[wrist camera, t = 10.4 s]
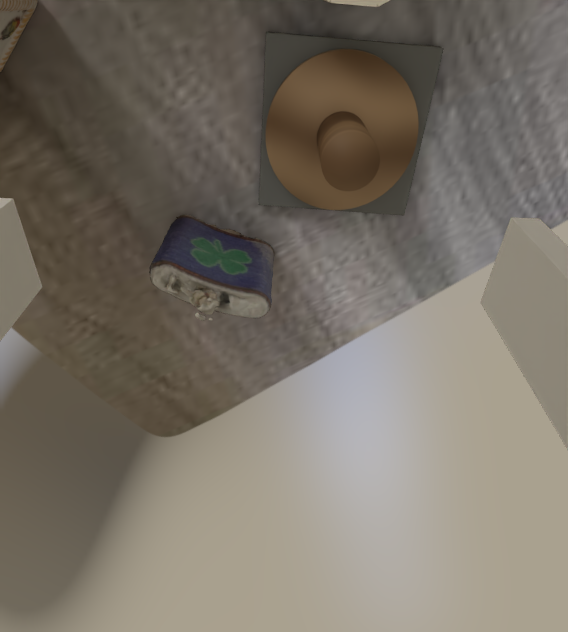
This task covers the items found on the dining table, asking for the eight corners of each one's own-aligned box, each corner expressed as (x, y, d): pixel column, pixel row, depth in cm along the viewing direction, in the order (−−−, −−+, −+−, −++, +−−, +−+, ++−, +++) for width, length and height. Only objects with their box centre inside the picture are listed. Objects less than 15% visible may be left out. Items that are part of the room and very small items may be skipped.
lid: (270, 42, 31) (265, 54, 25) (431, 55, 31) (464, 70, 25) (262, 199, 37) (258, 238, 31) (397, 208, 38) (417, 249, 32)
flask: (278, 244, 41) (274, 314, 32) (267, 271, 42) (260, 344, 34) (176, 208, 39) (142, 271, 30) (168, 238, 40) (134, 306, 32)
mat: (266, 31, 31) (265, 32, 31) (439, 46, 32) (443, 48, 31) (259, 200, 38) (258, 204, 37) (401, 210, 39) (403, 215, 38)
